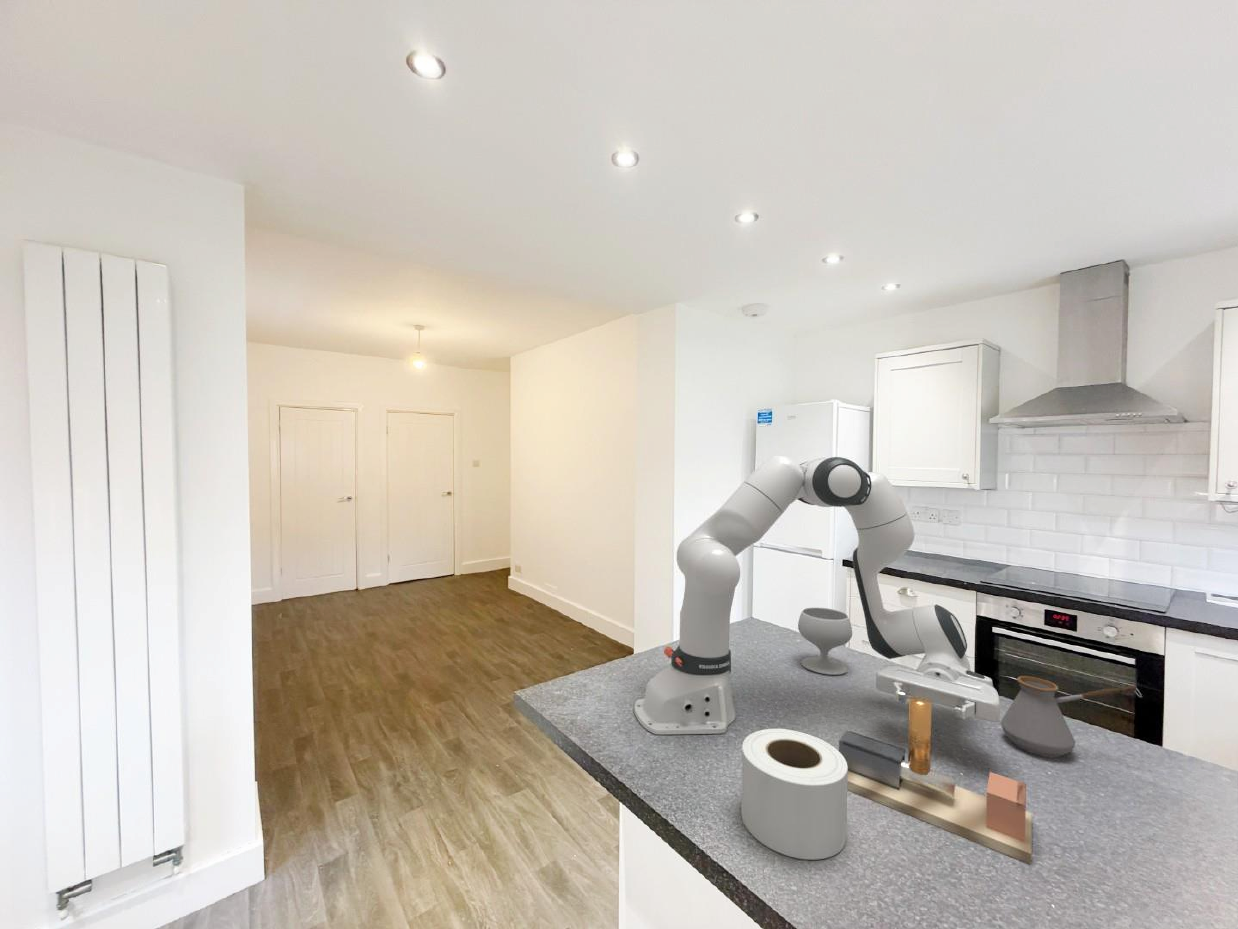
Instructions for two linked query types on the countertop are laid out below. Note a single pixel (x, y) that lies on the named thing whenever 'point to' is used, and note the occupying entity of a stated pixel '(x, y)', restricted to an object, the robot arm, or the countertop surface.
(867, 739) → the sleeve
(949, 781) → the tube
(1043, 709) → the coffee pot
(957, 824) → the board
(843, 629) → the chalice
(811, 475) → the robot arm
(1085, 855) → the countertop surface
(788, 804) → the toilet paper roll
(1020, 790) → the socket
